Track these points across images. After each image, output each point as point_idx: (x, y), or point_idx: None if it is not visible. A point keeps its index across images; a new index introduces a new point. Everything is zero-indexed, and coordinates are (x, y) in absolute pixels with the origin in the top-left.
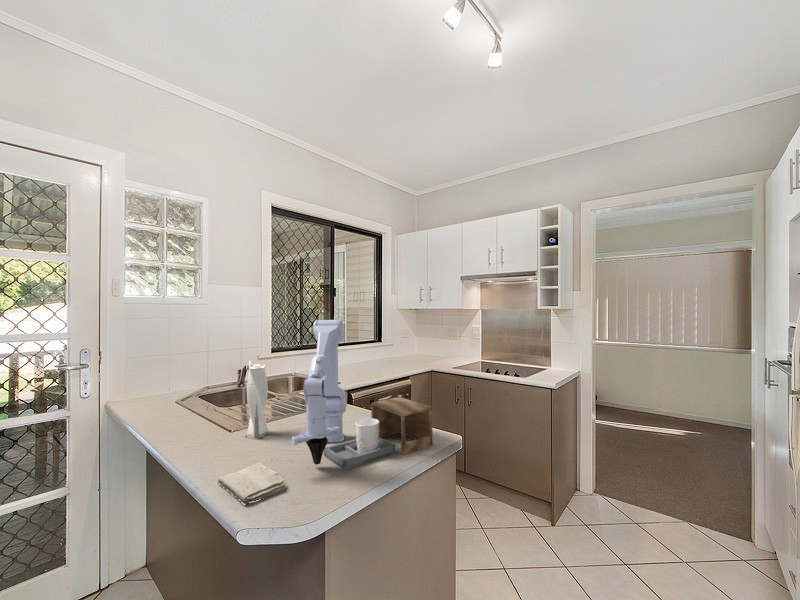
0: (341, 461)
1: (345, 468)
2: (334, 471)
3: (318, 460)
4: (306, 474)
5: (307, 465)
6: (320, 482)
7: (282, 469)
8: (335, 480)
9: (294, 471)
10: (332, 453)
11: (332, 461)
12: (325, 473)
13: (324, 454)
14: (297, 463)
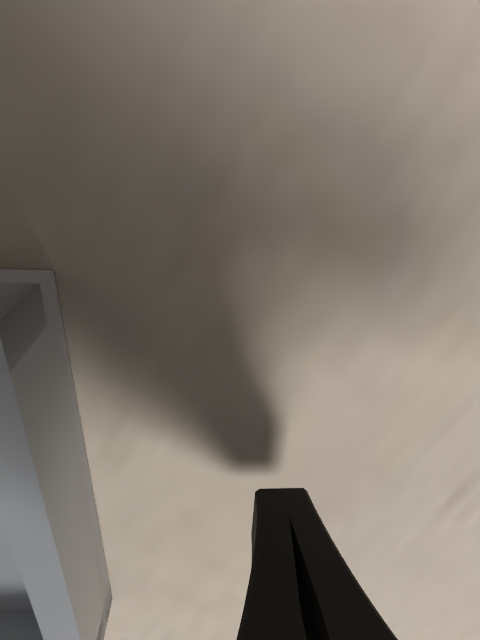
0: (27, 372)
1: (22, 274)
2: (167, 312)
3: (293, 521)
4: (413, 422)
5: None
6: (446, 171)
7: (469, 573)
8: (282, 72)
9: (439, 513)
10: (63, 578)
11: (92, 494)
12: (271, 333)
13: (108, 611)
14: None
